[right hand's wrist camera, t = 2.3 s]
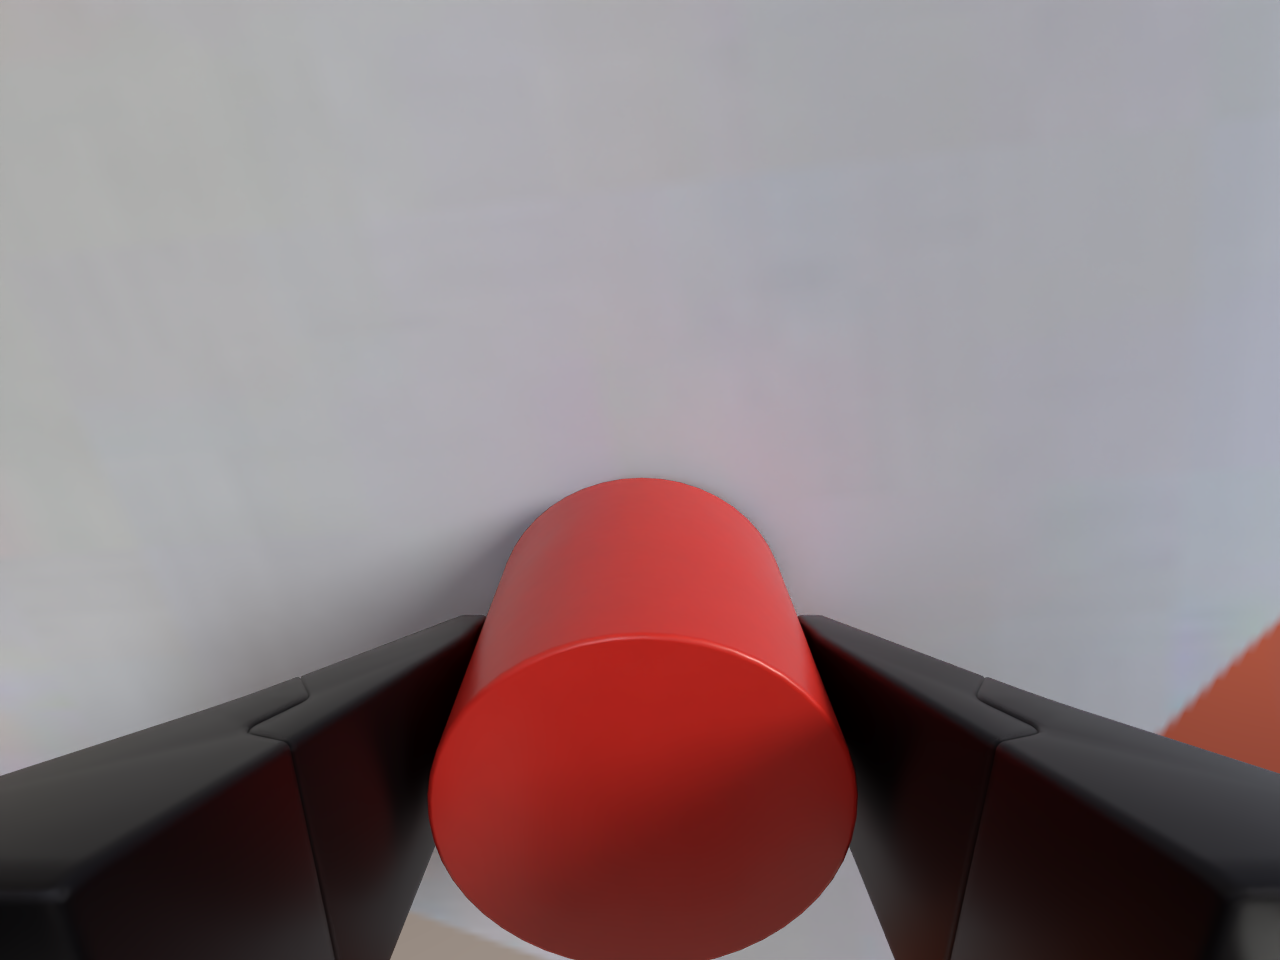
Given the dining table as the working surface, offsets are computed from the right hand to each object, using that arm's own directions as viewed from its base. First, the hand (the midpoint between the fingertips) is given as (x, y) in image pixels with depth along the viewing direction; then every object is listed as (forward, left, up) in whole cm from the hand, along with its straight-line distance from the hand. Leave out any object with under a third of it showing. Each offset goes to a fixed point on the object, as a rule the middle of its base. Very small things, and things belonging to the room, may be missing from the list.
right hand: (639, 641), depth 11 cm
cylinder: (0, 0, -1) cm, 1 cm away
